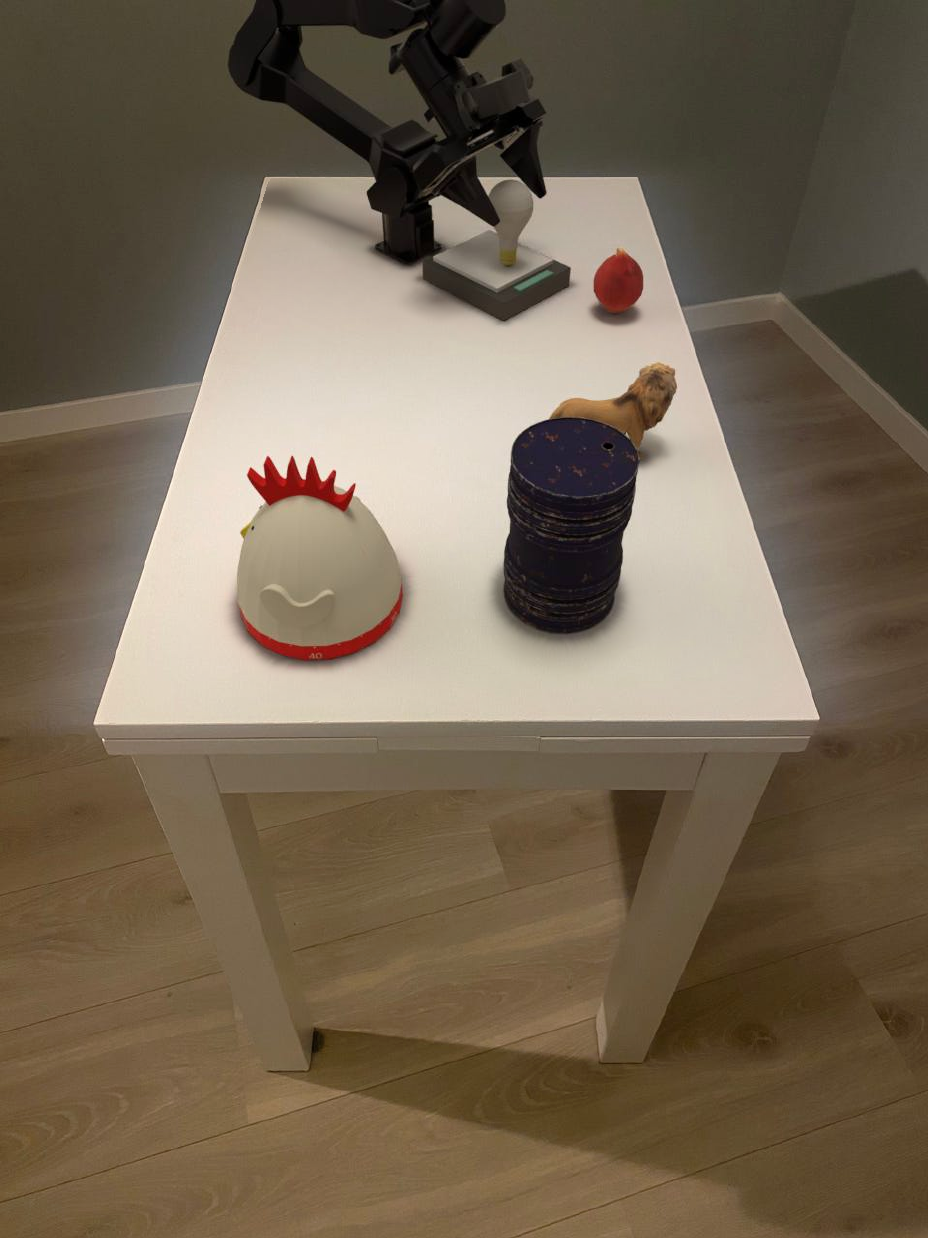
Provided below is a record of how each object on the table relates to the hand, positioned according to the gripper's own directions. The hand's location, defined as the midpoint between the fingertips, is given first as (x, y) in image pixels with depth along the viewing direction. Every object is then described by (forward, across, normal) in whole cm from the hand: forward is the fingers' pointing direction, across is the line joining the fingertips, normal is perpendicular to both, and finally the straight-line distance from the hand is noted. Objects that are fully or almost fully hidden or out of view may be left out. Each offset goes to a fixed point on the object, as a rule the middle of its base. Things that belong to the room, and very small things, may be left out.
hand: (520, 210), depth 108 cm
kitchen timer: (+20, -53, -5) cm, 56 cm away
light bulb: (+4, 0, +6) cm, 8 cm away
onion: (+16, +3, -1) cm, 16 cm away
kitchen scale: (+5, 0, +10) cm, 11 cm away
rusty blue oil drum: (+31, -40, -16) cm, 52 cm away
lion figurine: (+25, -20, -10) cm, 34 cm away
